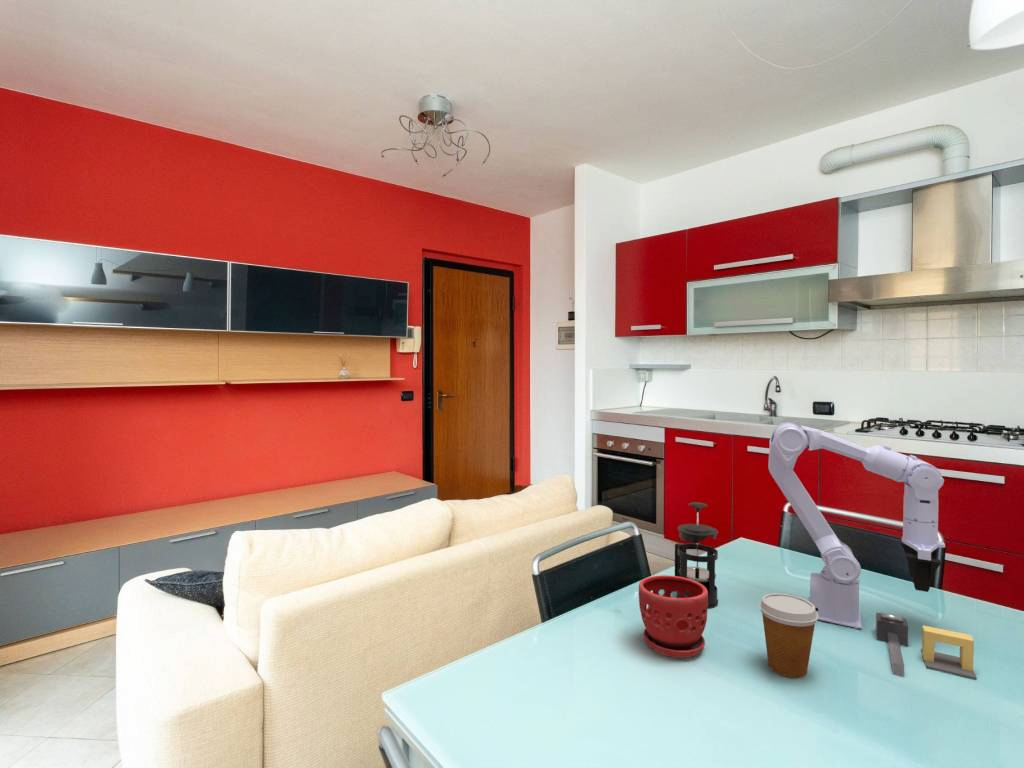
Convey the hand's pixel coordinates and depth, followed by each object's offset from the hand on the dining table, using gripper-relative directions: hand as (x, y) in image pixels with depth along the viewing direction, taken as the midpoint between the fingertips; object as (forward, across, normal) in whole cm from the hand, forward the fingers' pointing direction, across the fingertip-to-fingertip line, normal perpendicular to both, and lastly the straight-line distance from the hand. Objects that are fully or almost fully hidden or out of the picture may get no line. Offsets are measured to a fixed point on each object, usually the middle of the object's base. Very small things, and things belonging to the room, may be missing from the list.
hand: (919, 583), depth 109 cm
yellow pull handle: (+10, -13, -3) cm, 16 cm away
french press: (+10, -9, +43) cm, 45 cm away
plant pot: (+10, -33, +42) cm, 54 cm away
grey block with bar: (+10, -14, +5) cm, 18 cm away
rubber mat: (+10, -13, -3) cm, 17 cm away
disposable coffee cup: (+10, -30, +22) cm, 39 cm away
